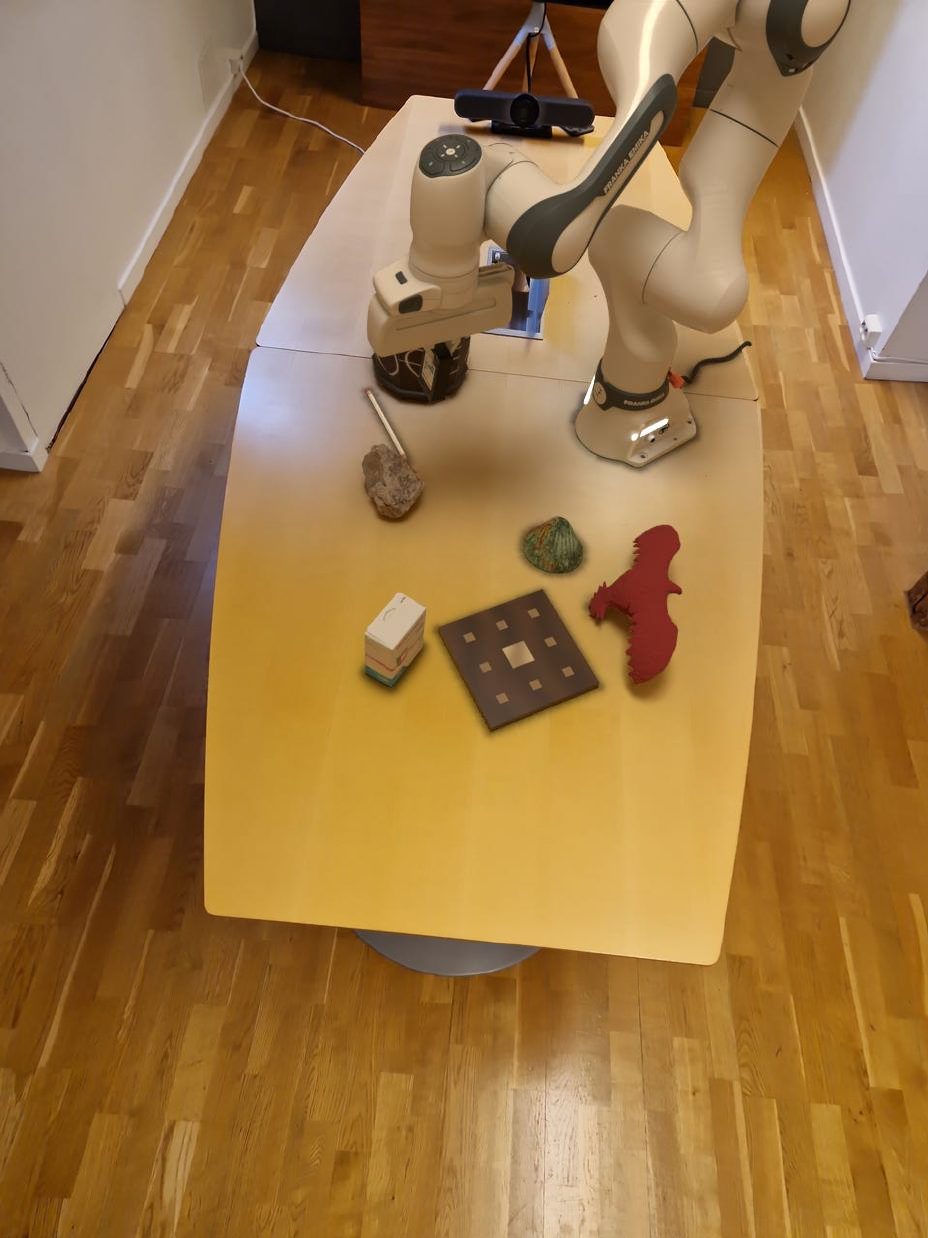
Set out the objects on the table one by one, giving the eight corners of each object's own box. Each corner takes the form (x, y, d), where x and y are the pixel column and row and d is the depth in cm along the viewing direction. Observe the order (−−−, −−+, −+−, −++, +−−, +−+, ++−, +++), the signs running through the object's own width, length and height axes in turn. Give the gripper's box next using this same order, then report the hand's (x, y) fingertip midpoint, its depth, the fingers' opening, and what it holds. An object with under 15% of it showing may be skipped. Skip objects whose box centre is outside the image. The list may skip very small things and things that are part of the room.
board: (541, 592, 129) (542, 588, 128) (598, 686, 121) (600, 682, 120) (438, 631, 124) (438, 626, 123) (490, 731, 116) (491, 727, 115)
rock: (388, 536, 136) (428, 510, 130) (334, 494, 130) (374, 465, 124) (399, 500, 142) (439, 473, 135) (348, 457, 136) (387, 428, 130)
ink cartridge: (417, 381, 121) (424, 336, 114) (431, 379, 121) (439, 334, 115) (430, 404, 118) (438, 359, 112) (444, 401, 119) (453, 357, 113)
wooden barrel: (401, 421, 146) (401, 351, 133) (355, 358, 153) (352, 286, 140) (486, 389, 152) (495, 319, 138) (438, 330, 159) (442, 258, 146)
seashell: (521, 546, 128) (538, 500, 133) (515, 561, 132) (533, 516, 137) (580, 569, 128) (596, 522, 133) (573, 583, 131) (589, 537, 136)
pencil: (369, 390, 149) (369, 387, 149) (409, 462, 141) (409, 460, 140) (365, 391, 149) (365, 388, 148) (404, 464, 141) (405, 461, 140)
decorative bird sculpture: (605, 704, 125) (694, 684, 115) (569, 678, 119) (658, 654, 110) (616, 556, 139) (696, 527, 130) (584, 527, 134) (664, 494, 124)
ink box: (392, 689, 118) (392, 650, 108) (364, 672, 120) (361, 632, 109) (424, 647, 122) (427, 605, 112) (397, 631, 124) (397, 588, 113)
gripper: (505, 245, 108) (494, 330, 120) (360, 277, 102) (364, 363, 114) (526, 274, 105) (513, 358, 117) (378, 308, 100) (380, 393, 111)
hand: (438, 361), depth 116 cm, fingers closed, pressing on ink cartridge
